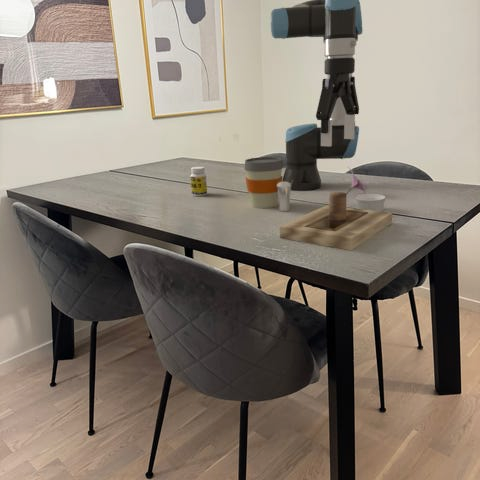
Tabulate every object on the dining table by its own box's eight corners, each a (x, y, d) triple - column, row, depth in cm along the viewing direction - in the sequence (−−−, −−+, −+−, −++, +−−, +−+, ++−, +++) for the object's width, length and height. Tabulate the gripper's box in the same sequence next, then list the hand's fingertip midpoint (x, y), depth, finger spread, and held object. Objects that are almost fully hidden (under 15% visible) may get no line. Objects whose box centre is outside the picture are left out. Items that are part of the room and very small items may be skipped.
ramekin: (370, 215, 141) (371, 201, 140) (348, 210, 149) (349, 196, 147) (391, 210, 146) (391, 196, 144) (369, 205, 153) (369, 192, 152)
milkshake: (289, 212, 148) (289, 180, 145) (274, 211, 151) (273, 179, 148) (296, 209, 152) (295, 178, 149) (281, 207, 155) (280, 177, 152)
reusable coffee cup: (255, 199, 168) (253, 156, 163) (289, 201, 162) (288, 157, 158) (239, 208, 157) (237, 162, 153) (275, 210, 152) (274, 163, 147)
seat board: (279, 237, 125) (279, 225, 124) (326, 214, 144) (326, 204, 143) (351, 250, 113) (351, 237, 112) (391, 223, 132) (392, 212, 131)
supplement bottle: (189, 196, 178) (186, 168, 175) (196, 192, 183) (194, 166, 180) (203, 196, 176) (201, 169, 173) (209, 193, 181) (208, 166, 178)
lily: (361, 204, 159) (376, 178, 157) (330, 188, 163) (344, 163, 161) (366, 207, 170) (379, 182, 168) (337, 192, 174) (350, 168, 172)
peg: (325, 231, 128) (326, 194, 125) (333, 227, 132) (334, 191, 129) (341, 233, 126) (342, 196, 123) (348, 229, 129) (349, 193, 126)
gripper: (330, 56, 109) (329, 150, 116) (373, 56, 128) (370, 136, 135) (301, 58, 114) (302, 148, 121) (347, 58, 132) (345, 135, 139)
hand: (338, 142), depth 128 cm, fingers open, 13 cm apart
